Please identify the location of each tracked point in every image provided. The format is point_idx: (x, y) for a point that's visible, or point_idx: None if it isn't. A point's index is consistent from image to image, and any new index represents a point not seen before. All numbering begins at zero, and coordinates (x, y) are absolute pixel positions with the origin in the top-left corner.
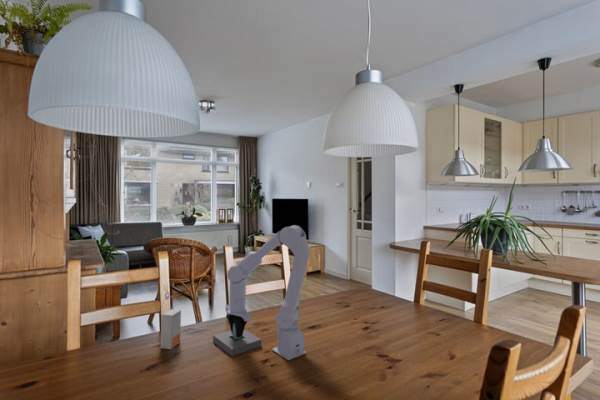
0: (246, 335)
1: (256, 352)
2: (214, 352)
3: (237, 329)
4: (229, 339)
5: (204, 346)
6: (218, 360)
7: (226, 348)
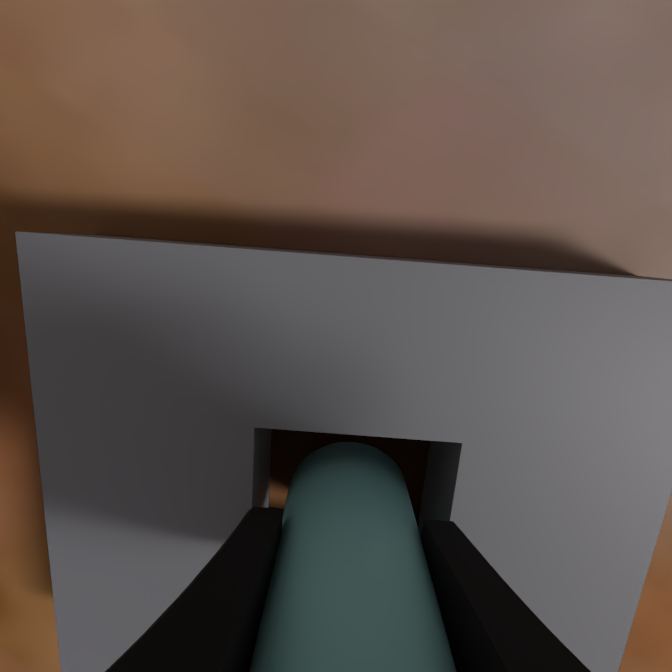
0: None
1: (17, 503)
2: (347, 116)
3: (138, 643)
4: (365, 402)
5: (622, 102)
6: (95, 26)
7: (222, 245)
